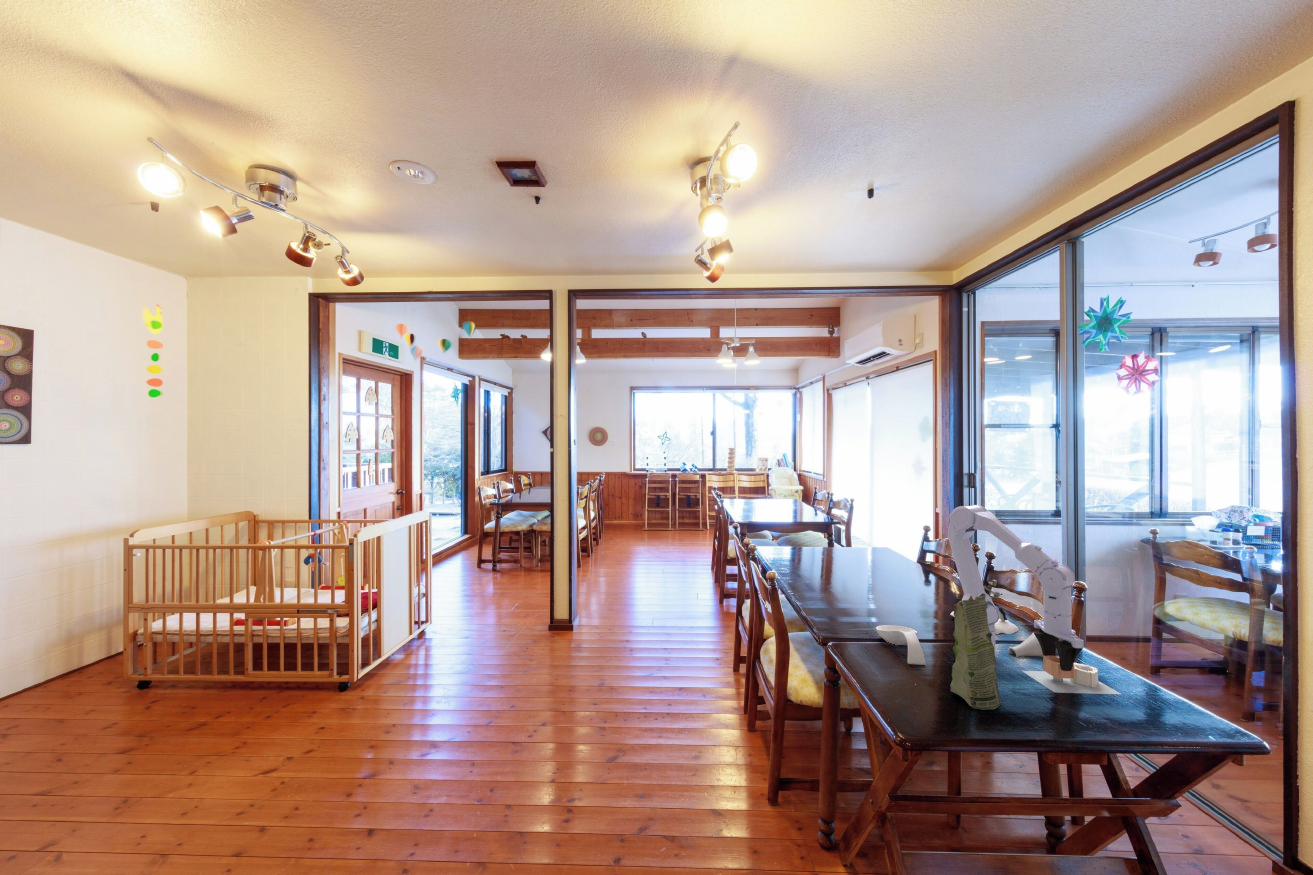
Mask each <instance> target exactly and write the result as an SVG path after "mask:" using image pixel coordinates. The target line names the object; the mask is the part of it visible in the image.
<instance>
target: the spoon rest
mask: <svg viewBox="0 0 1313 875" xmlns="http://www.w3.org/2000/svg"><path fill="white" fill-rule="evenodd" d="M875 630H876V632H877V634H878V635H879V636H880V638H882V639H883V640H884V641H885V642H886V643H888V642H889V643H888V644H890V643H892V644H891V645H893V644H895V645H894V646H898V645H904V646H907V662H906V663H907V664H908V665H919V666H923V665H926V659H925V653H924V651H923V649H922V648H923V647H922V646H921V642H920V641H919V638H918V637H917V636H918V631H917V630H915V629H914V628H910V627H906V626H902V625H895V624H893V625H892V624H891V625H890V624H889V625H888V624H884V625H883V624H881V625H878V626H876V627H875Z"/></svg>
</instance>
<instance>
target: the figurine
mask: <svg viewBox="0 0 1313 875" xmlns="http://www.w3.org/2000/svg"><path fill="white" fill-rule="evenodd" d="M988 584H989V585H986V584H985V585H984V584H983V587H984V590H987V592H988V595H989V596H990V597H991V598H992V599H993V598H995V599H996V598H997V599H998V598H1000V597H1001V596H1003V593H1000V591H997V590H995V591H993V590H992V589H993V587H996V586H997V580H996V579H992V580H990V581H988ZM998 611H999V614H1000V618H999V620H998V622H996V623H995V635H1000V634H1006V635H1012V634H1013V635H1014V633H1016V632H1019V628H1018V626H1016V624H1015V623H1012V622H1010V621H1009V620H1008V618H1007V616H1006V615H1007V614H1006V612H1005V611H1004V609H1003V608H1002V607H998ZM950 616H952V617H953V618H954V617H955V616H954V610H953V611H952V612H951V613H950Z"/></svg>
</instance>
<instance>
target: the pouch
mask: <svg viewBox="0 0 1313 875" xmlns="http://www.w3.org/2000/svg"><path fill="white" fill-rule="evenodd" d="M985 597H986V595H985V594H984V593H982V594H981V595H980V596H979V597H975V599H974V600H973V598H972V596H970V598H969V599H968V600H962V599H961V600H959V601H957V603H955V604H953V608H954V610H953V611H954V616H955V617H954V616H953V619H954V631H953V634H952V636H953V637H954V645H953V646H952V652H953V654H954V655H955V662H954V663H953V664H952V666H951V670H952V671H951V677H952V679H951V683H950V692H951V693H953V694H956V695H957V696H959V697H961V698H962V699H964V701H965V702H966V703H967V704H968V705H969V707H971V708H972V709H977V710H984V711H985V710H986V711H988V710H995V709H997V708H999V707H1000V705H1001V704H1002V703H1001V696H1000V691H999V681H998V675H997V668H996V667H997V660H996V650H995V651H994V646H993V644H992V640H991V636H992V634H991V632H990V630H989V627H988V619H987V617H988V616H987V611H986V610H987V608H988V606H987V602H986V601H985Z"/></svg>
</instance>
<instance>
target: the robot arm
mask: <svg viewBox="0 0 1313 875" xmlns="http://www.w3.org/2000/svg"><path fill="white" fill-rule="evenodd" d="M948 519H949V524H948V528H947V534H946V535H947V538H948V542H949V546H950V548H951V552H952V556H953V560H954V564H955V567H956V571H957V574H958V577H959V581H960V585H961V588H962V591H963V596H962V598H961V600H968V599H969V598H970V596H972V598H973V600H974V599H975V597H979V596H980V595H981V594H982V593H984V594H985V595H986V597H985V601H986V602H987V606H988V608H987V610H986V611H987V616H988V617H987V619H988V627H989V630H990V632H991V634H992V636H991V640H992V644H993V646H994V651H995V652H996V634H995V623H996V622H998V620H999V618H1000V614H999V608H997V606H996V605H995V604H994V602H993V598H992V597H990V596H991V595H990V596H989V593H986V591H985V590H986V589H985V588H984V587H983V586H984V583H983V581H982V577H981V574H980V570H979V568H978V567H979V566H978V563H977V561H976V557H975V553H974V551H973V550H974V549H973V547H972V543H971V540H970V539H971V537H972V536H973V534H974V533H975V532H976V530H978V531H984V532H989V533H990V534H991V535H992V536H994V538H997V540H999V541H1000V542H1002V543H1004V545H1006V546H1007V547H1008V548H1010V549H1011V550H1012V551H1013V552H1014V557H1015V559H1017V560H1018V561H1019V562H1021V564H1023V565H1024V566H1025V567H1026V568H1027V569H1029V570H1030V571H1031V572H1032V573H1033V574H1034V575H1036V576H1037V577H1038V581H1039V583H1040V585H1041V586H1042V587H1043V591H1042V592H1043V594H1042V595H1043V598H1042V599H1043V601H1042V602H1043V603H1042V604H1043V606H1042V607H1043V608H1042V609H1043V611H1042V612H1043V613H1042V614H1043V616H1042V617H1043V619H1040V620H1039V619H1034V620H1033V627H1034V628H1035V629H1039V630H1037V631H1036V630H1035V631H1033V633H1034V635H1035V636H1036V638H1037V640H1038V642H1039V644H1040V646H1041V649H1042V653H1043V656H1057V654H1058V656H1059V661H1060V668H1061V670H1063V671H1071V670H1072V667H1073V664H1074V663H1075V661H1076V659H1077V657H1078V655H1079V654H1080V652H1081V651H1083V649H1084V648H1085V647H1084V640H1083V639H1081V638H1080V637H1079V636H1078V635H1076V630H1074V629H1072V613H1073V612H1072V585H1073V584H1074V583H1075V581H1076V577H1075V576H1076V575H1075V573H1074V572H1073V570H1072V569H1070V567H1069V566H1068V565H1066V564H1059V563H1060V562H1059V561H1057V559H1053V558H1052V557H1051V556H1049V555H1047V553H1045V552H1043V551H1042V546H1040V545H1039V544H1036V545H1035V544H1034V543H1032V542H1031V543H1030V542H1028V543H1027V542H1024V541H1023V540H1022V539H1021V538H1020V537H1018V536H1017V535H1016V534H1015V533H1014V532H1013V531H1012V530H1010V529H1009V528H1008V526H1006V525H1005V524H1004V523H1003V522H1001V520H999V519H998V518H997V517H996V516H995V514H994V513H992V512H991V511H990V510H987V509H986V508H985V507H984V506H983V505H981V504H980V505H979V504H973V505H968V506H964V505H962V506H961V505H960V506H957V507H955V508H954V509H953V510H952V511H951V512H950V513H949V515H948ZM1059 640H1062V641H1059ZM1056 653H1057V654H1056Z"/></svg>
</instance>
